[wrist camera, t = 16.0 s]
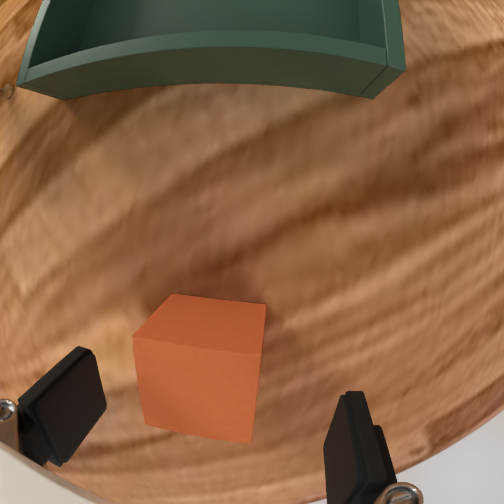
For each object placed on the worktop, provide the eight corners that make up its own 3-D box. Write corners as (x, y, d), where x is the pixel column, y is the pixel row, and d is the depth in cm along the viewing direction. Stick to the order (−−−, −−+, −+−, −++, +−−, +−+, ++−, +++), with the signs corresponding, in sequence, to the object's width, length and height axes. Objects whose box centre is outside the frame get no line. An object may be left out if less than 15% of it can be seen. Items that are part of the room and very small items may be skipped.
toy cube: (266, 303, 15) (261, 355, 10) (258, 382, 16) (251, 444, 11) (171, 292, 15) (131, 335, 11) (174, 370, 17) (144, 424, 12)
